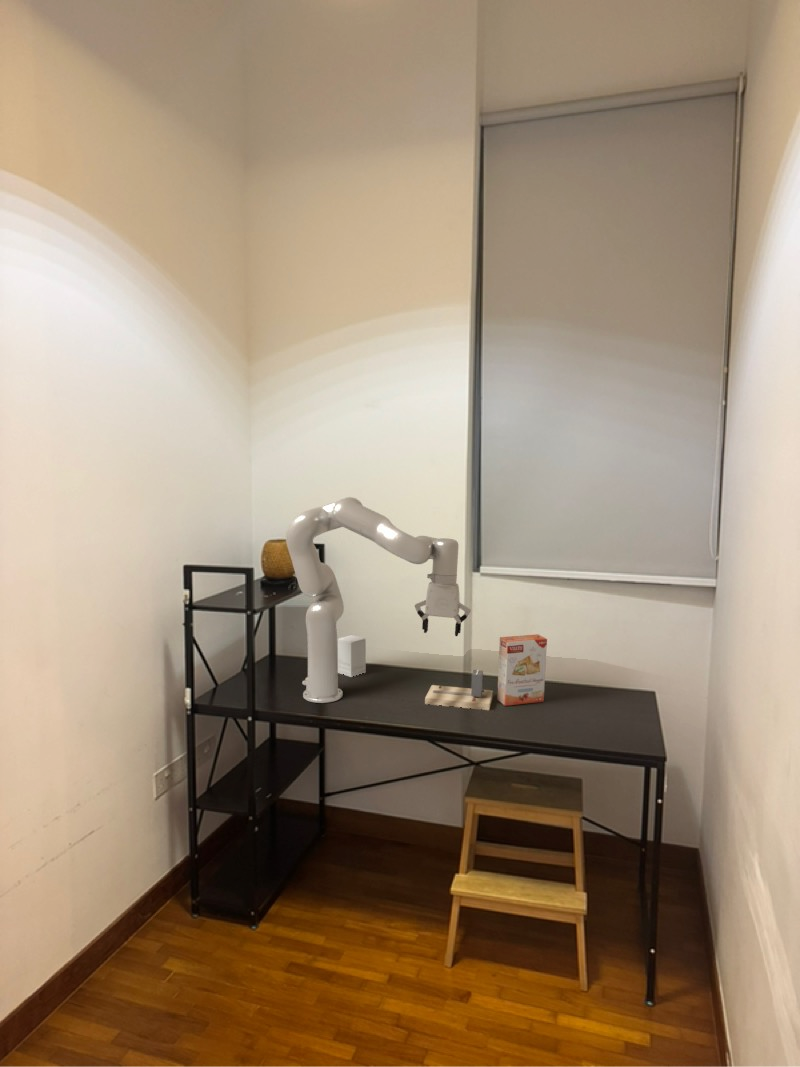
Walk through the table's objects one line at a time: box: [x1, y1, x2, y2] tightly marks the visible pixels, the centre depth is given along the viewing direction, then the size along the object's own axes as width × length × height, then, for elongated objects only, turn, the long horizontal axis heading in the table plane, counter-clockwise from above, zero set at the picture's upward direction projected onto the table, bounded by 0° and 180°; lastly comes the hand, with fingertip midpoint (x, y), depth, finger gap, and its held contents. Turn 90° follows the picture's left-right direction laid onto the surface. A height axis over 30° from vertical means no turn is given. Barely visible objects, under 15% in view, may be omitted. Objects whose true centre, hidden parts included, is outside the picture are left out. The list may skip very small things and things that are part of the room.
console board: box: [424, 684, 494, 711], centre depth 219 cm, size 20×12×2 cm, turn 77°
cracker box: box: [496, 633, 548, 707], centre depth 217 cm, size 14×6×21 cm, turn 109°
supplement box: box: [337, 634, 367, 678], centre depth 243 cm, size 7×7×13 cm
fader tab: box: [471, 669, 484, 697], centre depth 217 cm, size 3×4×7 cm, turn 167°
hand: (441, 633), depth 213 cm, fingers open, 9 cm apart
